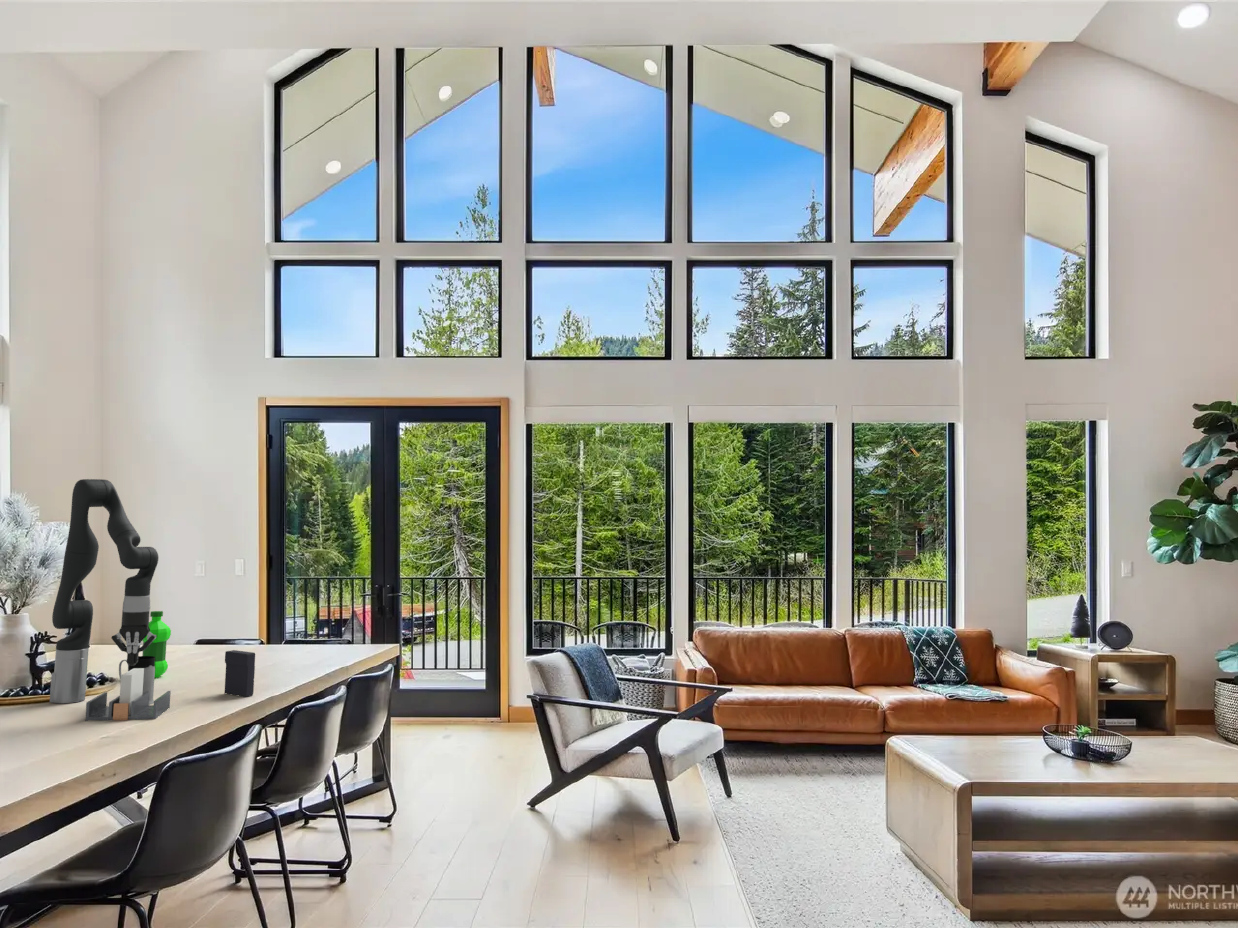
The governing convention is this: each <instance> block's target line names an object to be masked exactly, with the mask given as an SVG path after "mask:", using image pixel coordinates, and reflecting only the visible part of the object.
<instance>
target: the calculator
mask: <svg viewBox="0 0 1238 928" xmlns="http://www.w3.org/2000/svg"><path fill="white" fill-rule="evenodd" d="M224 663H225V677H224V694H225V693H227V694H226V695H230V694H232V695H231V696H236V695H239V696H238V697H242V696H245V697H244V698H247V696H248V697H252V696H253V695H254V693H255V692H254V689H255V688H254V687H255V673H256V672H255V671H256V666H255V665H256V653H255V652H252V651H243V650H238V649H236V650H235V649H233V650H226V651H225V652H224Z"/></svg>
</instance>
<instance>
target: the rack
mask: <svg viewBox="0 0 1238 928" xmlns="http://www.w3.org/2000/svg"><path fill="white" fill-rule="evenodd" d="M171 694H172V693H171V690H167V691H166V692H164V693H163V694H162V695H160V696H159V697H157V698H156V699H154V703H153V704H150V705H149V696H150V691H147V692H145V693H144V694H142V695H141V696H139V697H138V698H136V699H135V700H133V701H132V704H131V714H128V712H129V703H119V700H120V695H118V696H117V697H115V698H113V699H111V700H110V701H109V702H108V706H107V701H108V700H107V699H108V692H107V691H106V692H105V691H104V692H102V693H101V694H99V695H97V696H96V697H94V698H92V699H90V700H88V701H87V702H86V704H85V705H86V706H85V717H84V718H85V722H89V721H88V720H99V721H113V720H115V721H130V720H131V719H135V720H156V719H157V718H158V716H159V717H160V716H161V715H162V713H163V712H164V713H165V712H167V711H168V710H169V709H170V707H171V706H170V705H171ZM168 708H169V709H168ZM167 709H168V710H167ZM164 713H163V714H164ZM131 721H132V720H131Z"/></svg>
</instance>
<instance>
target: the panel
mask: <svg viewBox="0 0 1238 928" xmlns="http://www.w3.org/2000/svg"><path fill="white" fill-rule="evenodd" d="M143 677H144V668H134V669H132V670H130V671H128V670H127V671H126V672H124V673H123V674H122V675H121V680H120V689H119V696H120V700H119V703H129V712H128V714H131V704H132V701H133V700H135V699H136V698H138V697H139V696H141V695H142V693H143Z"/></svg>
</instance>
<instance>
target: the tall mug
mask: <svg viewBox="0 0 1238 928" xmlns="http://www.w3.org/2000/svg"><path fill="white" fill-rule="evenodd" d="M123 662H126V663H127V659H122V660H121V661H120V662H119V664H118V675H119V680H120V681H121V675H123V674H122V664H123ZM134 668H144V677H143V693H142V694H144V693H145V692H147V691H150V696H149V705H154V701H155V699H154V691H155V678H154V677H155V657H154V656H142V655H139V656H138V662H137V663H136V665H129V664H127V672H128V671H130V670H132V669H134Z"/></svg>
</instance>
